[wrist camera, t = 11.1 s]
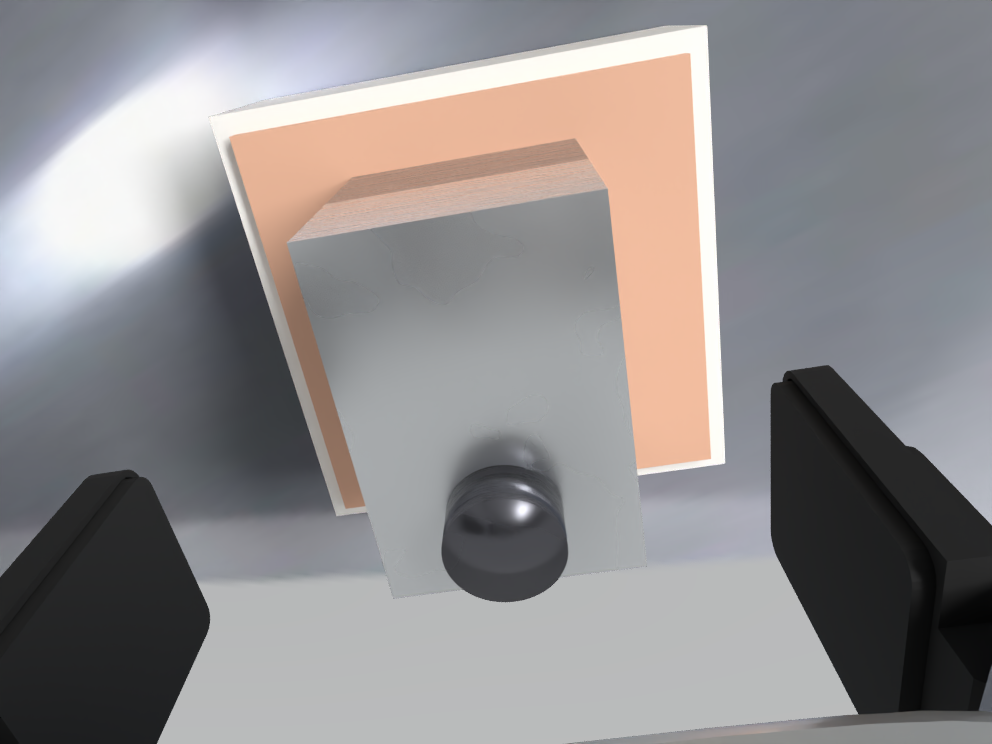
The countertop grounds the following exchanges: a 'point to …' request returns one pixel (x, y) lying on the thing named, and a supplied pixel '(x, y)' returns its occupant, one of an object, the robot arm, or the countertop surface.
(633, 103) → the stand
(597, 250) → the housing
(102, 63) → the countertop surface
